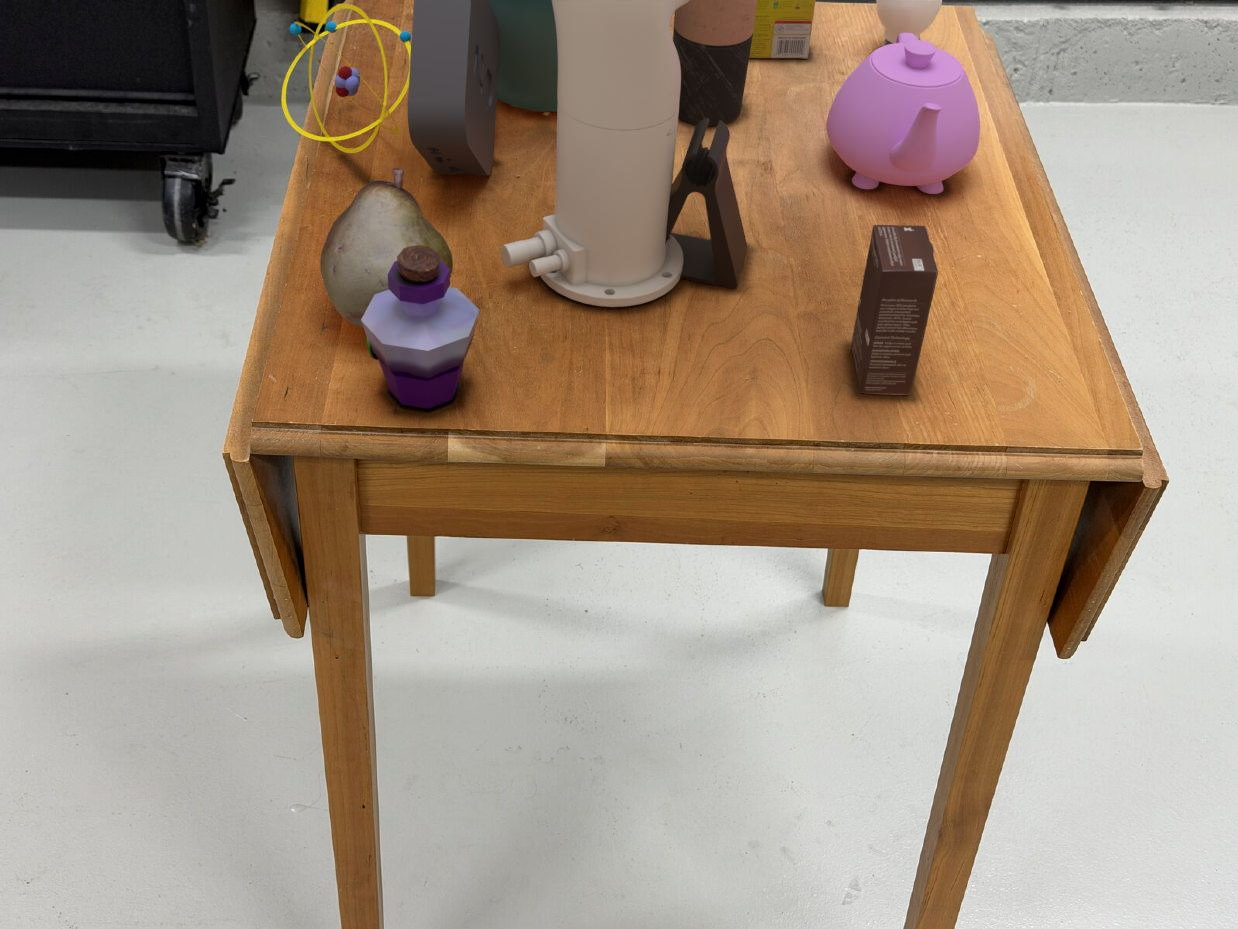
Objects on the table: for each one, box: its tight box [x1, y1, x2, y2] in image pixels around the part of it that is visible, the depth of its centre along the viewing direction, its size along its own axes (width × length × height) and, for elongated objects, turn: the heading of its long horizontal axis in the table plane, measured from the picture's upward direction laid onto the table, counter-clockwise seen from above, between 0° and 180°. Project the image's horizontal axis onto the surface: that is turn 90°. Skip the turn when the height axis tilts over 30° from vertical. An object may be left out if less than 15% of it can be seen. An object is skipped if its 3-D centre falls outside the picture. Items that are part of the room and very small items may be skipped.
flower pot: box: [488, 0, 558, 113], centre depth 136 cm, size 18×18×17 cm
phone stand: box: [665, 118, 748, 290], centre depth 117 cm, size 9×6×12 cm, turn 78°
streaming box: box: [407, 0, 500, 176], centre depth 123 cm, size 14×14×5 cm
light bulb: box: [875, 0, 943, 46], centre depth 147 cm, size 7×7×11 cm
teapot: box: [825, 33, 981, 195], centre depth 129 cm, size 20×14×12 cm
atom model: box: [280, 3, 412, 154], centre depth 127 cm, size 14×15×14 cm
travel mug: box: [672, 0, 757, 127], centre depth 133 cm, size 8×8×20 cm
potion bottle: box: [361, 245, 481, 413], centre depth 103 cm, size 9×9×12 cm
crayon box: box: [749, 0, 816, 60], centre depth 145 cm, size 7×3×12 cm, turn 94°
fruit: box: [319, 167, 454, 329], centre depth 109 cm, size 10×9×12 cm
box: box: [850, 224, 939, 396], centre depth 107 cm, size 6×4×12 cm
